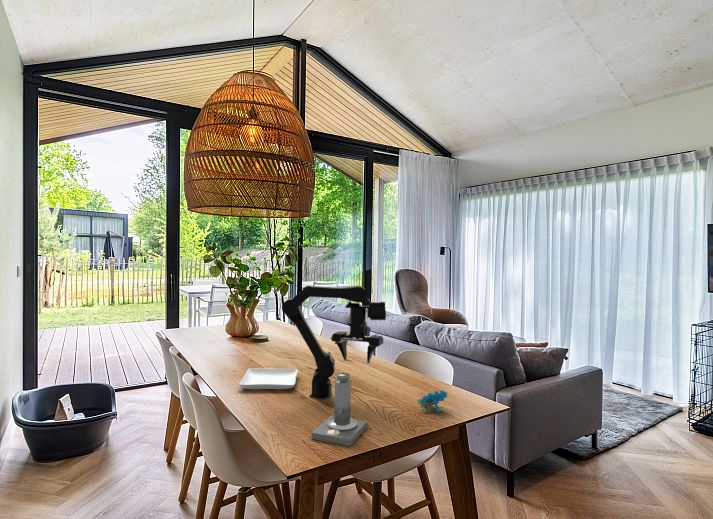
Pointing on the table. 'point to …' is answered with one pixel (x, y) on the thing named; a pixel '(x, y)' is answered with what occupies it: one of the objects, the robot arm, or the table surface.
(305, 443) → the table surface
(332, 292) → the robot arm
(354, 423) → the scale pan
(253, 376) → the salad plate
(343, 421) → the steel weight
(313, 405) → the table surface
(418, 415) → the table surface
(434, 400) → the turquoise toy figurine
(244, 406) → the table surface
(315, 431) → the scale
